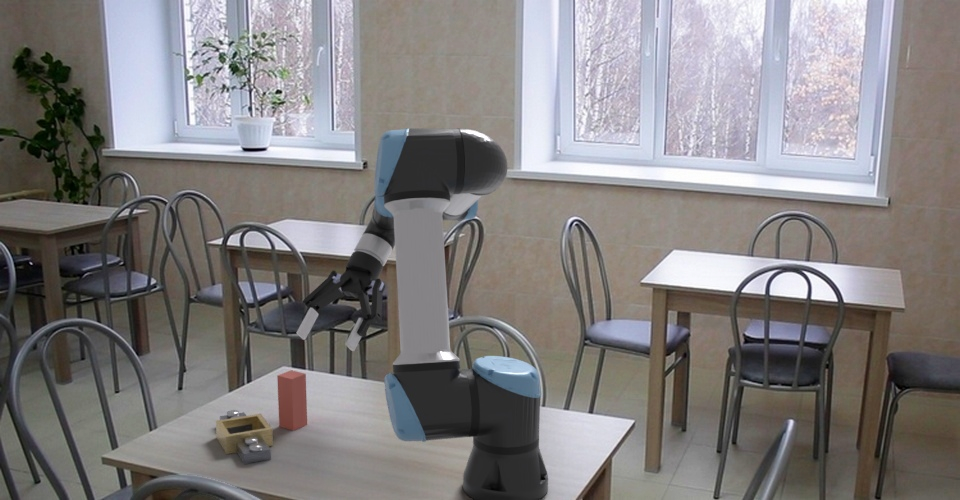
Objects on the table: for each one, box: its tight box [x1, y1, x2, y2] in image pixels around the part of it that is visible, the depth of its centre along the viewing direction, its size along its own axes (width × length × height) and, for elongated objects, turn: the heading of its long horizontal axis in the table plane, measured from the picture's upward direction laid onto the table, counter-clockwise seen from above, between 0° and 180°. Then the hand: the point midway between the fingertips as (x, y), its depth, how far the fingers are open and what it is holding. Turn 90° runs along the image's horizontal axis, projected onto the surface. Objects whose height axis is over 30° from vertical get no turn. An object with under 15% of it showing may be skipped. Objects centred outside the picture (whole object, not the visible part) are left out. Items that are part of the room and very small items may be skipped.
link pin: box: [276, 369, 308, 432], centre depth 201 cm, size 4×4×11 cm
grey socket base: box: [215, 409, 274, 465], centre depth 193 cm, size 21×9×4 cm, turn 27°
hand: (324, 342), depth 207 cm, fingers open, 13 cm apart
